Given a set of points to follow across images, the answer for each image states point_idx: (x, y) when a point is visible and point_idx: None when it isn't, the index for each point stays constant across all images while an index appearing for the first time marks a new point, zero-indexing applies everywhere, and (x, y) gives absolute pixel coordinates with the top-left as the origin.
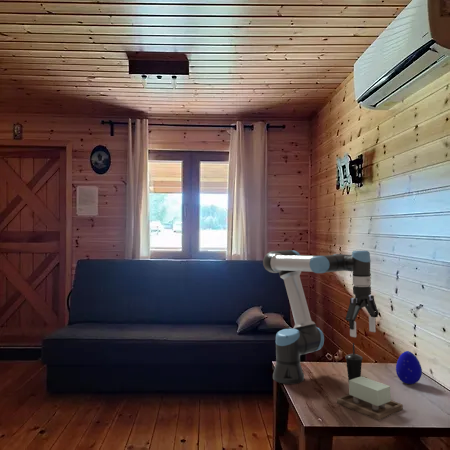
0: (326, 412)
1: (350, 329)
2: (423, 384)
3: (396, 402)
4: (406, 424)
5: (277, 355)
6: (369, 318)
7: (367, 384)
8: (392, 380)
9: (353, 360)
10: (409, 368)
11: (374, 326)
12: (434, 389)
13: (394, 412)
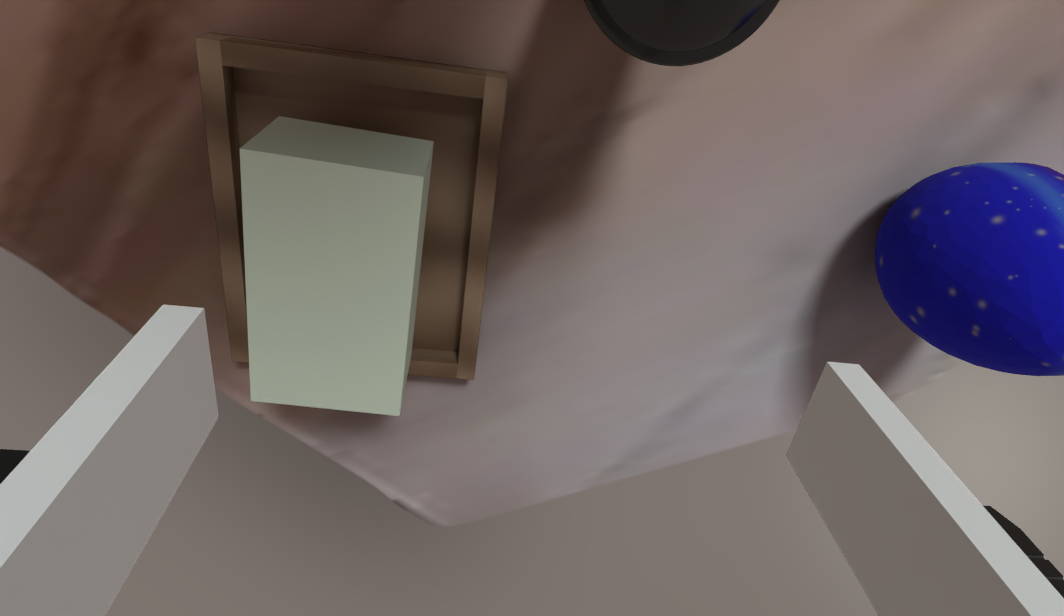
0: (21, 68)
1: (81, 415)
2: None
3: (475, 348)
4: (326, 436)
5: None
6: (1012, 609)
7: (293, 303)
8: (925, 115)
9: (584, 1)
10: (924, 318)
11: (838, 545)
12: (879, 362)
13: None
